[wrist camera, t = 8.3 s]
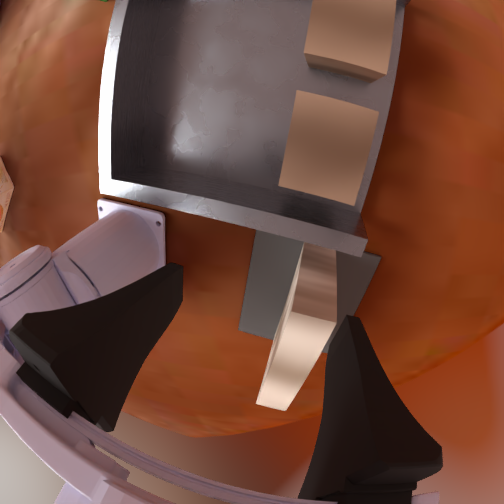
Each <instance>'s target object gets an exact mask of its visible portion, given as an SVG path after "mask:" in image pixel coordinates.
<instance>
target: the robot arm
mask: <svg viewBox="0 0 504 504" xmlns="http://www.w3.org/2000/svg"><path fill="white" fill-rule="evenodd" d="M97 204H98V214H99V220H98V221H97V222H95V223H94V224H92V225H91V226H89V227H88V228H86V229H85V230H83V231H82V232H80V233H79V234H77V235H76V236H75V237H73V238H72V239H70V240H69V241H67V242H66V243H65V244H63V245H62V246H61V247H59V248H58V249H57V250H55V251H54V252H53V253H51V251H50V248H49V247H44V246H41V245H36V246H34V247H31V248H29V249H28V250H26V251H24V252H22V253H21V254H19V255H18V256H16V257H15V258H13V259H12V260H10V261H9V262H8V263H6V264H5V265H4V266H3V267H1V268H0V415H1V416H2V418H3V419H4V420H5V421H6V422H7V424H8V425H9V426H10V427H11V428H12V430H13V431H14V432H15V433H16V434H17V435H18V436H19V438H20V439H21V440H22V441H23V442H24V443H25V444H26V445H27V446H28V447H29V448H30V449H31V450H32V451H33V452H34V453H35V454H36V455H37V456H38V457H39V458H40V459H41V460H42V461H43V462H44V463H45V464H46V465H47V466H48V467H49V468H51V469H52V470H53V471H54V472H55V473H56V474H58V476H60V477H61V478H62V479H63V480H64V481H66V482H65V484H64V486H63V488H62V490H61V491H60V493H59V495H58V497H57V498H56V501H55V502H54V504H175V503H172V502H170V501H168V500H165V499H163V498H160V497H158V496H156V495H153V494H151V493H149V492H147V491H145V490H143V489H141V488H138V487H136V486H134V485H132V484H130V483H128V482H127V477H128V476H129V474H130V472H129V471H128V470H127V469H125V468H123V467H122V466H120V465H119V464H118V463H116V461H115V460H113V459H111V458H110V457H108V456H107V455H105V454H103V453H102V452H100V451H99V450H97V449H96V448H95V445H94V444H96V445H97V446H99V447H100V448H102V449H104V450H105V451H107V452H109V453H110V454H112V455H114V456H116V457H117V458H119V459H121V460H123V461H125V462H126V463H128V464H130V465H132V466H134V467H136V468H138V469H140V470H142V471H144V472H146V473H149V474H151V475H153V476H155V477H157V478H160V479H162V480H164V481H167V482H169V483H171V484H174V485H177V486H179V487H182V488H184V489H187V490H190V491H193V492H195V493H198V494H201V495H205V496H208V497H211V498H214V499H218V500H221V501H225V502H229V503H232V504H439V492H438V491H436V492H431V493H425V494H419V495H415V496H412V490H415V489H416V488H417V481H420V480H422V479H425V478H427V477H429V476H431V475H433V474H435V473H437V472H438V471H440V470H441V468H442V467H443V459H442V447H441V446H440V445H439V444H438V443H437V442H436V441H435V440H434V439H433V438H432V437H431V436H430V435H429V434H428V433H427V432H426V431H425V430H424V429H423V427H422V426H421V425H420V424H419V423H418V422H417V421H416V419H415V418H414V417H413V416H412V414H411V413H410V412H409V410H408V409H407V407H406V406H405V405H404V403H403V402H402V401H401V399H400V397H399V396H398V394H397V393H396V391H395V389H394V388H393V386H392V385H391V383H390V381H389V379H388V378H387V376H386V374H385V372H384V370H383V368H382V366H381V364H380V362H379V360H378V358H377V356H376V354H375V351H374V349H373V347H372V345H371V343H370V340H369V338H368V336H367V334H366V331H365V329H364V327H363V324H362V322H361V320H360V318H358V317H354V316H351V315H347V314H346V316H345V318H344V320H343V322H342V324H341V325H340V327H339V329H338V331H337V332H336V334H335V336H334V338H333V339H332V341H331V343H330V345H329V349H328V355H327V361H326V369H325V386H324V402H323V412H322V419H321V424H320V429H319V433H318V437H317V441H316V445H315V449H314V453H313V456H312V460H311V463H310V466H309V469H308V472H307V475H306V477H305V480H304V483H303V485H302V488H301V490H300V493H299V495H298V499H296V498H288V497H282V496H276V495H270V494H265V493H260V492H255V491H251V490H247V489H242V488H238V487H235V486H231V485H227V484H223V483H220V482H217V481H213V480H210V479H207V478H204V477H201V476H198V475H196V474H193V473H190V472H187V471H185V470H182V469H180V468H177V467H174V466H172V465H170V464H167V463H165V462H163V461H160V460H158V459H156V458H154V457H151V456H149V455H147V454H145V453H143V452H141V451H139V450H137V449H135V448H133V447H131V446H129V445H127V444H126V443H124V442H122V441H120V440H118V439H116V438H115V437H113V436H111V435H109V434H108V433H106V432H111V431H113V430H114V428H115V425H116V422H117V420H118V417H119V414H120V412H121V409H122V407H123V404H124V402H125V400H126V397H127V395H128V393H129V390H130V388H131V386H132V384H133V382H134V380H135V378H136V376H137V374H138V372H139V370H140V368H141V366H142V364H143V362H144V361H145V359H146V357H147V356H148V354H149V353H150V351H151V350H152V348H153V347H154V346H155V344H156V343H157V341H158V340H159V338H160V337H161V336H162V334H163V333H164V331H165V330H166V328H167V327H168V326H169V324H170V323H171V321H172V320H173V318H174V316H175V314H176V313H177V311H178V309H179V307H180V305H181V303H182V301H183V266H181V265H178V264H175V263H172V262H171V263H169V264H167V265H166V255H165V216H164V214H163V213H162V212H159V211H154V210H150V209H146V208H142V207H138V206H133V205H129V204H125V203H120V202H116V201H112V200H107V199H103V198H101V199H99V200H98V202H97ZM102 208H103V209H102ZM158 221H159V222H160V223H161V225H160V224H159V223H158ZM96 426H97V427H96Z"/></svg>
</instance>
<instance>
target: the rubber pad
mask: <svg viewBox="0 0 504 504" xmlns="http://www.w3.org/2000/svg"><path fill="white" fill-rule="evenodd" d="M303 244H304V242H303V241H299V240H295V239H291V238H287V237H284V236H280V235H276V234H272V233H268V232H264V231H260V230H256V234H255V240H254V245H253V251H252V256H251V262H250V267H249V273H248V278H247V284H246V290H245V295H244V301H243V306H242V312H241V317H240V323H239V328H238V330H240V331H243V332H247V333H250V334H254V335H257V336H261V337H264V338H268V339H271V340H274V337H275V334H276V331H277V328H278V325H279V322H280V319H281V316H282V313H283V310H284V306H285V303H286V300H287V297H288V294H289V291H290V287H291V284H292V281H293V278H294V274H295V271H296V268H297V265H298V261H299V258H300V254H301V251H302V248H303ZM380 259H381V256H379V255H375V254H372V253H368V252H365V251H363V254H362V256H361V257H358V256H354V255H350V254H347V253H343V252H340V251H336V270H337V323H336V325H335V327H334V329H333V331H332V333H331V335H330V337H329V339H328V341H327V342H326V344H325V346H324V348H323V350H322V352H324V353H328V349H329V345H330V343H331V341H332V339H333V338H334V336H335V334H336V332H337V331H338V329H339V327H340V325H341V324H342V322H343V320H344V318H345V316H346V314H347V315H351V316H353V315H354V313H355V312H356V310H357V308H358V306H359V304H360V302H361V300H362V298H363V296H364V294H365V292H366V290H367V288H368V286H369V283H370V281H371V279H372V277H373V275H374V273H375V271H376V268H377V266H378V264H379V262H380Z"/></svg>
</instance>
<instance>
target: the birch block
mask: <svg viewBox="0 0 504 504" xmlns="http://www.w3.org/2000/svg"><path fill="white" fill-rule="evenodd" d="M336 323H337V270H336V250H332V249H329V248H325V247H321V246H318V245H314V244H310V243H306V242H304V244H303V248H302V251H301V254H300V258H299V261H298V265H297V268H296V271H295V274H294V278H293V281H292V284H291V287H290V291H289V294H288V297H287V300H286V303H285V306H284V310H283V313H282V316H281V319H280V322H279V325H278V328H277V331H276V334H275V337H274V341H273V345H272V348H271V352H270V356H269V359H268V363H267V367H266V370H265V374H264V377H263V381H262V384H261V388H260V391H259V395H258V398H257V402H256V404H259V405H263V406H267V407H271V408H275V409H279V410H283V411H286V409H287V408H288V406H289V405H290V403H291V402H292V400H293V399H294V397H295V395H296V394H297V392H298V391H299V389H300V387H301V386H302V384H303V383H304V381H305V379H306V378H307V376H308V374H309V373H310V371H311V369H312V367H313V366H314V364H315V362H316V360H317V359H318V357H319V355H320V353H321V352H322V350H323V348H324V346H325V344H326V342H327V341H328V339H329V337H330V335H331V333H332V331H333V329H334V327H335V325H336Z"/></svg>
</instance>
